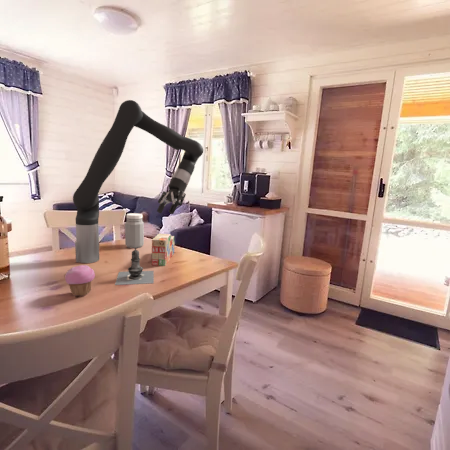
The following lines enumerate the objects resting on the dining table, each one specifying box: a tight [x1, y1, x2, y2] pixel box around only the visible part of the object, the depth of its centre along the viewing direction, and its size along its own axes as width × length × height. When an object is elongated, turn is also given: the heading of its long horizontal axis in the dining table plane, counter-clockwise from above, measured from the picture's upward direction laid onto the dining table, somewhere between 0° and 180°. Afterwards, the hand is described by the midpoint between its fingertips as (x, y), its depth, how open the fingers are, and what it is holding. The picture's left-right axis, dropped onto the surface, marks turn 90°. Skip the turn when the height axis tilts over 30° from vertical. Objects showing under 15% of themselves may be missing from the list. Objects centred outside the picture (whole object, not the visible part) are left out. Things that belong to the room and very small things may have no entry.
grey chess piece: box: [127, 248, 144, 280], centre depth 114 cm, size 6×6×12 cm
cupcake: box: [64, 264, 96, 297], centre depth 97 cm, size 9×9×10 cm
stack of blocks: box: [151, 233, 175, 267], centre depth 140 cm, size 21×6×12 cm, turn 179°
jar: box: [124, 212, 145, 249], centre depth 159 cm, size 10×10×18 cm
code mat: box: [114, 270, 155, 286], centre depth 115 cm, size 14×14×1 cm
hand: (164, 212), depth 125 cm, fingers open, 8 cm apart
